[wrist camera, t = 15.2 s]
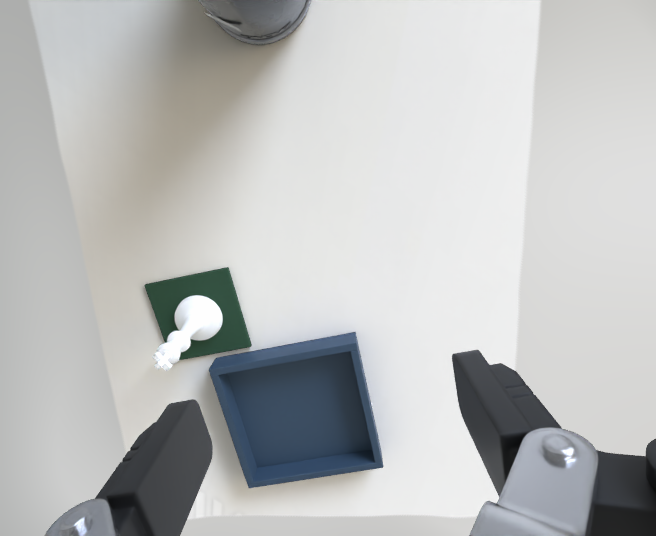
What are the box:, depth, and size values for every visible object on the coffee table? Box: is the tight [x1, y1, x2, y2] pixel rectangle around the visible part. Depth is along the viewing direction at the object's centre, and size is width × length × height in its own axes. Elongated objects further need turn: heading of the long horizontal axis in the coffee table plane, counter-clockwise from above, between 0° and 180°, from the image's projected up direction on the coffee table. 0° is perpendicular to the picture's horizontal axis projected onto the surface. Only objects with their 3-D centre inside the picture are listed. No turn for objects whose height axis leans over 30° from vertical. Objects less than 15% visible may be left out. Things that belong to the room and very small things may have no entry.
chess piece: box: [152, 295, 223, 371], centre depth 37 cm, size 5×5×10 cm
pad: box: [145, 267, 251, 360], centre depth 42 cm, size 9×9×1 cm
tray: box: [209, 332, 383, 488], centre depth 44 cm, size 16×16×2 cm
